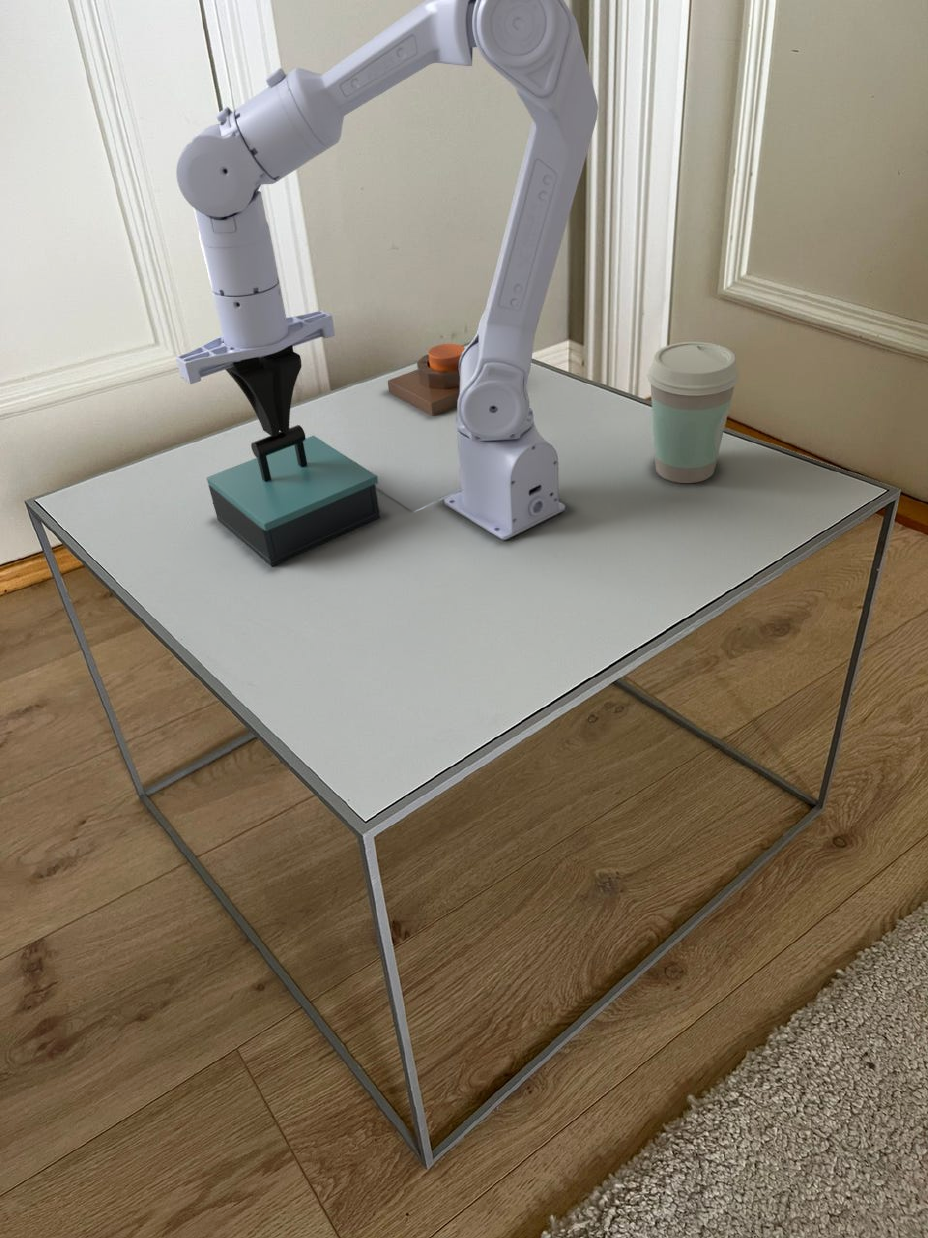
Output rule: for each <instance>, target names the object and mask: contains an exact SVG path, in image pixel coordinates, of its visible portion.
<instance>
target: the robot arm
mask: <svg viewBox="0 0 928 1238" xmlns="http://www.w3.org/2000/svg"><path fill="white" fill-rule="evenodd" d="M583 46H584V45H583V43H582V39H581V35H580V30H579V25H578V21H577V19H576V17H575V15H574V13H573V12H572V11H571V10H570V7H569V6H568V5H567V2H566V1H565V0H424V1H423V2H421V3H420V4H419V5H417V6H416V7H414V8H413V9H411V10H410V11H409V12H408V13H406V14H405V15H403V16H401V18H399V19H397V21H395V22H394V23H392V24H391V25H389V26H388V27H387V28H386V29H384V30H382V31H381V32H379V33H378V34H377V35H376V36H374V37H373V38H372V39H370V40H369V41H368V42H366V43H365V44H363V45H362V46H360V47H359V48H357V49H356V50H354V52H352V53H351V54H349V55H348V56H346V57H345V58H344V59H342V60H341V61H340V62H338V63H337V64H336V65H334V66H333V67H331V68H330V69H328V71H326V72H324V73H319V72H314V71H311V70H308V69H305V68H302V67H295V68H294V69H292V70H291V71H289V72H288V73H287V74H286V73H285V71H284V69H283V68H282V67H281V68H280V67H279V68H278V69H276V70H274V71H273V72H272V73H270V74H269V75H268V76H267V77H266V78H265V83H266V84H267V87H266V88H264V89H263V90H262V91H260V92H259V93H257V94H256V95H255V96H253V97H252V98H250V99H248V100H246V102H244V103H243V104H241V105H239V106H238V107H237V108H235V109H234V110H232V109H231V108H230V107H228V106H226V107H225V108H224V109H222V110H221V111H219V112H218V113H216V115H215V119H216V121H217V122H218V123H215V124H211V125H209V126H207V127H205V128H204V129H203V130H201V131H200V132H199V133H198V134H197V135H196V136H194V137H193V138H192V139H191V140H190V141H189V142H188V144H186V145H185V146H184V148H183V149H182V150H181V152H180V155H179V157H178V159H177V162H176V167H175V168H176V169H175V175H176V177H175V178H176V182H177V185H178V188H179V191H180V193H181V195H182V197H183V198H184V199H185V201H186V202H187V203H188V204H189V205H190V207H192V208H193V211H194V216H195V220H196V224H197V228H198V229H197V230H198V237H199V241H200V246H201V250H202V254H203V259H204V263H205V267H206V271H207V276H208V281H209V285H210V289H211V293H212V296H213V301H214V305H215V309H216V314H217V318H218V322H219V327H220V331H221V335H219V336H218V337H216V338H214V339H212V340H210V341H208V342H206V343H204V344H203V345H200V346H199V347H197V348H195V349H193V350H190V351H188V352H185V353H184V354H181V355H177V356H175V360H176V363H177V367H178V371H179V375H180V378H181V379H182V380H183V381H185V382H186V383H188V384H190V385H193V384H196V383H199V382H201V381H202V378H204V377H208V376H210V375H214V374H216V373H220V372H223V371H224V370H225V371H226V372H227V373H228V374H229V376H230V377H231V378H232V379H233V381H234V382H235V383H236V385H237V386H238V387H239V389H240V391H242V393H243V394H244V396H245V397H246V399H247V400H248V403H250V406H251V407H252V409H253V411H254V413H255V415H256V417H257V418H258V421H259V424H260V426H261V428H262V431H263V432H264V433H266V434H268V436H270V435H271V436H272V437H275V436H277V435H280V432H282V433H285V432H288V431H289V428H290V418H291V417H290V416H291V407H292V398H293V393H294V390H295V386H296V382H297V380H298V378H299V377H298V376H299V374H300V371H301V369H302V367H303V366H302V358H301V357H302V356H301V355H300V354H298V353H297V352H295V351H294V347H296V346H299V345H302V344H305V343H308V342H310V341H314V340H317V339H319V338H323V339H329V338H333V337H335V335H336V333H335V326H334V320H333V319H334V318H333V315H332V314H330V313H328V312H325V311H323V310H321V309H320V310H316V311H312V312H309V313H306V314H305V313H304V314H300V315H294V316H288V317H287V314H286V309H285V305H284V298H283V294H282V293H283V292H282V288H281V282H280V278H279V272H278V267H277V262H276V256H275V252H274V251H275V250H274V246H273V240H272V235H271V230H270V225H269V223H268V221H267V215H266V212H265V206H264V201H263V195H262V191H260V188H261V186H262V185H274V184H276V183H278V182H279V181H280V180H282V179H284V178H285V177H287V176H288V175H290V174H291V173H293V172H295V171H296V170H297V169H299V168H301V167H302V166H304V165H305V164H307V163H308V162H310V161H312V160H313V159H315V158H316V157H317V156H320V155H321V154H323V153H324V152H326V151H327V150H329V149H330V148H332V147H334V146H335V145H336V144H338V143H339V142H340V140H341V137H342V133H343V132H342V131H343V125H344V119H345V116H347V115H348V114H350V113H352V112H354V111H355V110H357V109H358V108H360V107H361V106H363V105H365V104H367V103H368V102H369V101H372V100H374V99H375V98H376V97H378V96H380V95H383V93H385V92H387V91H388V90H390V89H391V88H393V87H395V86H397V85H398V84H400V83H401V82H403V81H405V80H407V79H408V78H410V77H412V76H413V75H415V74H417V73H418V72H420V71H422V70H423V69H425V68H426V67H428V66H430V65H432V64H443V65H454V66H463V67H472V66H473V54H474V53H473V51H474V48H477V50H478V52H479V54H480V55H481V56H482V58H483V59H484V60H485V62H486V63H487V64H488V65H489V66H490V67H491V68H492V69H494V70H495V71H496V72H497V73H498V74H499V75H500V76H501V77H502V78H503V79H505V80H506V81H507V82H508V83H509V84H511V85H512V86H513V88H515V90H516V94H517V95H518V97H519V99H520V100H521V102H522V104H523V106H524V107H525V108H526V111H527V112H528V114H529V116H530V118H531V119H532V121H531V125H530V129H529V133H528V136H527V137H528V138H527V141H526V145H525V149H524V153H523V156H522V157H523V158H522V161H521V166H520V169H519V173H518V178H517V180H516V181H517V182H516V186H515V190H514V193H513V198H512V201H511V206H510V209H509V213H508V218H507V221H506V225H505V229H504V234H503V236H502V237H503V238H502V241H501V246H500V249H499V253H498V257H497V261H496V266H495V269H494V273H493V278H492V281H491V286H490V290H489V293H488V297H487V302H486V305H485V308H484V311H483V313H482V316H481V317H480V319H479V324H478V327H477V331H476V333H475V335H474V337H473V338H472V340H471V341H470V343H469V344H467V346H466V347H464V348H465V349H464V351H463V353H462V355H461V357H460V361H459V375H460V395H459V398H458V404H457V406H456V409H457V416H456V418H455V425H456V427H455V429H456V439H457V452H458V453H457V454H458V463H459V464H458V465H459V475H460V476H459V477H460V489H461V491H458V492H456V493H454V494H452V495H450V496H447V497H445V498H444V502H443V503H444V505H445V506H447V507H448V508H450V509H452V510H454V511H455V512H456V513H458V514H459V515H462V516H463V517H465V518H467V519H468V520H470V521H471V522H473V523H474V524H476V525H478V526H480V528H483V529H484V530H485V531H487V532H489V533H491V534H492V535H494V536H495V537H497V538H498V539H500V540H503V541H504V540H505V541H506V540H509V539H511V538H513V537H514V536H517V535H518V534H521V533H523V532H525V531H526V530H528V529H530V528H532V527H534V526H537V525H539V524H540V523H542V522H544V521H546V520H548V519H550V518H552V517H555V516H556V515H559V513H560V514H561V513H562V512H564V511H565V510H566V504H564V503H562V502H560V500H559V456H558V453H557V450H556V449H555V447H554V446H553V445H552V444H551V443H550V442H548V441H547V440H546V439H545V438H544V437H543V436H542V434H540V432H539V430H538V429H537V427H536V424H535V419H534V413H533V412H534V411H533V409H532V408H531V407H530V406H531V405H530V398H529V394H528V389H527V388H528V387H527V385H528V380H529V379H528V378H529V375H530V371H531V368H532V367H531V366H532V359H533V353H534V352H533V351H534V343H535V337H536V332H537V328H538V325H539V322H540V319H541V314H542V311H543V307H544V304H545V301H546V297H547V294H548V289H549V287H550V283H551V279H552V277H553V273H554V269H555V266H556V263H557V258H558V256H559V252H560V249H561V245H562V242H563V238H564V234H565V231H566V229H567V228H566V227H567V225H568V220H569V217H570V214H571V210H572V206H573V204H574V200H575V196H576V192H577V189H578V186H579V182H580V179H581V176H582V171H583V168H584V164H585V162H586V158H587V154H588V151H589V148H590V144H591V141H592V137H593V134H594V130H595V127H596V123H597V120H598V112H599V103H598V99H597V98H598V97H597V95H596V92H595V88H594V83H593V81H592V76H591V73H590V68H589V65H588V62H587V59H586V58H587V57H586V54H585V50H584V47H583Z"/></svg>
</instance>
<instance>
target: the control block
mask: <svg viewBox="0 0 928 1238" xmlns="http://www.w3.org/2000/svg"><path fill="white" fill-rule="evenodd" d="M416 368H417V369H415V370H412V371H409V372H406V373H404V374H401V375H399V376H396V377H393V378H391V379H388V380H387V387H388V394H390V395H392V396H393V397H395V398H397V399H399V400H401V401H403V402H405V403H407V404H408V405H411V406H412V407H414V408H416V409H419V410H421V412H424V413H426V414H428V415H429V416H432V417H434V416H437V415H440V414H441V413H444V412H446V411H448V410H452V409H454V408H457V404H458V398H459V395H460V375H459V369H456V370H448V371H441V370H434V369H432V368H430V363H429V353H428V354H426V355H425V354H424V355H423V356H422V357H421V358H420V359H419V360H418V361H417V362H416Z"/></svg>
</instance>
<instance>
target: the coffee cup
mask: <svg viewBox="0 0 928 1238" xmlns="http://www.w3.org/2000/svg"><path fill="white" fill-rule="evenodd" d="M739 372H740V369H739V367H738V365H737V360H736V356H735V354H734V352H733V351H732V350H730V349H728V347H725V346H722V345H719V344H717V343H711V342H706V341H705V342H704V341H682V342H677V343H672V344H668V345H666V346H664V347H662V348H660V349H658V350H657V351H656V352H655V353H654V357H653V360H652V362H651V363H650V365H649V366H648V372H647V375H646V377H647V380H648V382H649V383H650V393H651V394H650V398H651V399H650V400H651V414H652V415H651V416H652V429H653V430H652V431H653V442H654V443H653V445H654V459H655V461H654V462H655V470H656V473H657V474H658V475H659V476H660V477H661V478H663V479H665V480H666V481H669V482H673V483H678V484H694V483H699V482H703V481H705V480H707V479H709V478H710V477H712V476H713V475H714V473H715V469H716V465H717V461H718V457H719V453H720V448H721V444H722V440H723V436H724V432H725V428H726V424H727V418H728V415H729V411H730V406H731V402H732V399H733V394H734V389H735V386H736V385H737V384H738V382H739V380H740V374H739Z"/></svg>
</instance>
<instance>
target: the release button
mask: <svg viewBox="0 0 928 1238" xmlns="http://www.w3.org/2000/svg"><path fill="white" fill-rule="evenodd" d="M465 348H466V347H464V346H463V345H462V344H461V345H460V344H456V343H444V344H438V345H436V346H433V347H432V348H430V349H429V350H428V354H429V363H430V368H432V369H434V370H441V371H448V370H456V369H459V361H460V357H461V355H462V353H463V351H464V349H465Z"/></svg>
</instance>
